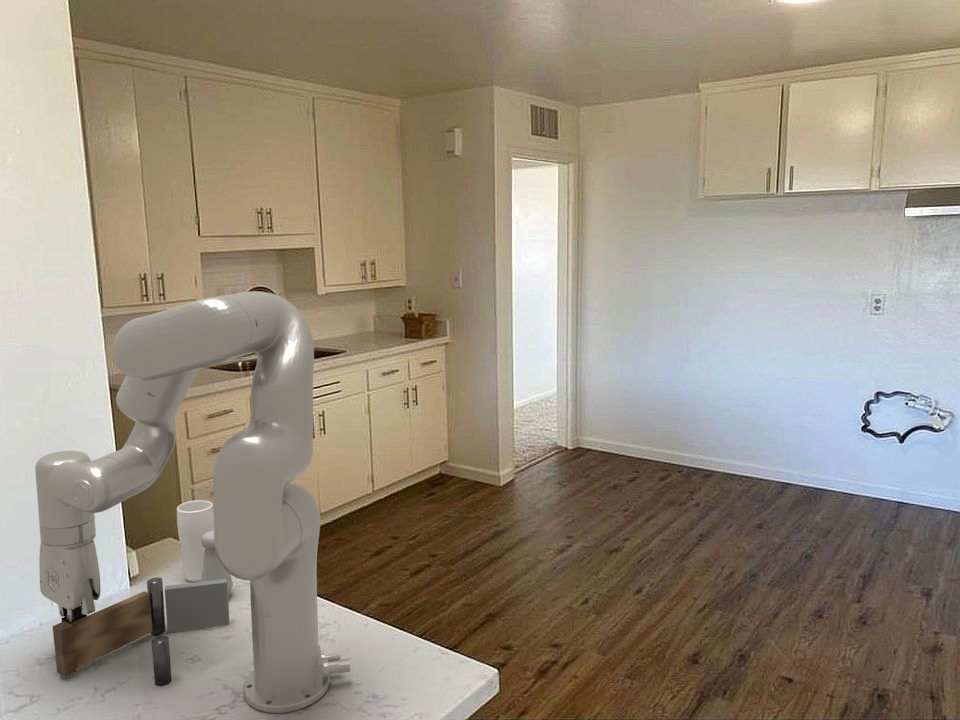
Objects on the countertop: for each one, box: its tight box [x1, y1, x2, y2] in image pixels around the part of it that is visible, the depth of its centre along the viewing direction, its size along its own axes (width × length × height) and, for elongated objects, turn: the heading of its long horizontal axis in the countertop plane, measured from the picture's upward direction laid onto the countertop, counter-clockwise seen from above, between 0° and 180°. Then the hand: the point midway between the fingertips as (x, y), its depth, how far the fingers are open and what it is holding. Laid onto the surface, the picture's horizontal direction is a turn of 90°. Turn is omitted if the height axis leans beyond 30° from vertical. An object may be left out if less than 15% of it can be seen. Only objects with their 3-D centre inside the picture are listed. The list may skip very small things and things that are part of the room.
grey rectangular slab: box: [164, 579, 230, 634], centre depth 126 cm, size 10×2×8 cm, turn 106°
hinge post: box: [146, 577, 167, 637], centre depth 124 cm, size 2×2×10 cm
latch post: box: [151, 634, 173, 687], centre depth 110 cm, size 2×2×7 cm
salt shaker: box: [200, 531, 234, 597], centre depth 136 cm, size 6×6×13 cm
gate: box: [52, 590, 152, 678], centre depth 117 cm, size 15×2×8 cm, turn 147°
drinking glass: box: [176, 499, 214, 583], centre depth 144 cm, size 7×7×15 cm
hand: (75, 638), depth 116 cm, fingers closed
